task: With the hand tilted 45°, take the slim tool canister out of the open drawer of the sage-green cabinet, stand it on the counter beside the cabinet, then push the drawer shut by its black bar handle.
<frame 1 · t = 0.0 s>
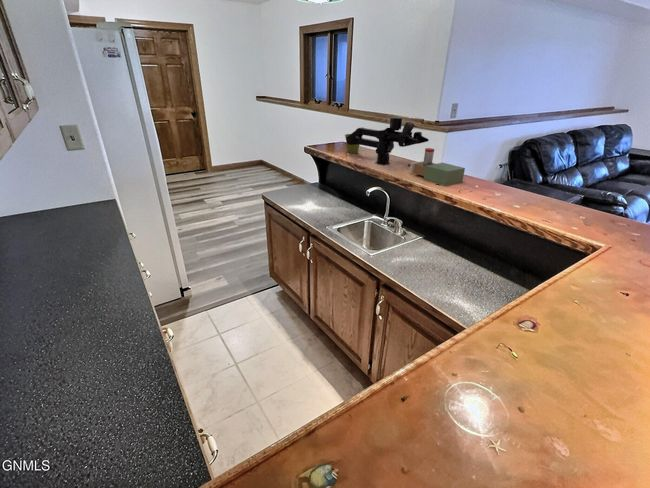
hand: (424, 141, 186), 16 cm above the counter, tool horizontal, fingers open, 9 cm apart
cabinet: (442, 180, 177), on the counter
canister: (426, 172, 184), point 2 cm above the counter, touching drawer
drawer: (423, 168, 185), point 4 cm above the counter, slide at 9.0 cm, touching canister
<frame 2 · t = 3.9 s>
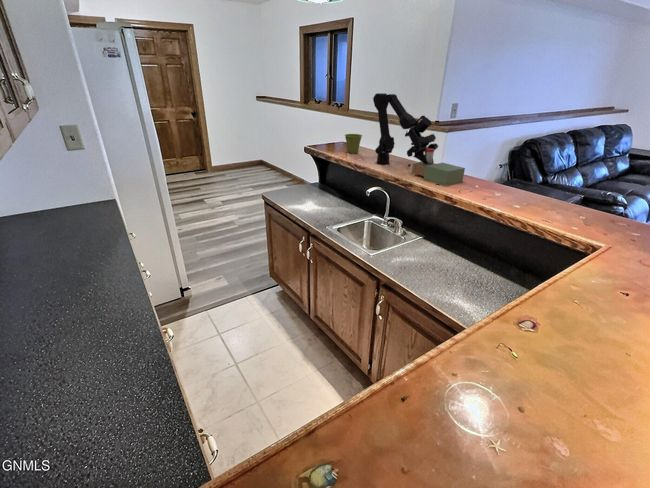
hand: (429, 163, 181), 7 cm above the counter, tool tilted 45°, fingers closed on canister, 4 cm apart
canister: (426, 172, 184), point 2 cm above the counter, touching drawer, gripper
everything else where it was.
when the fingers open (5 cm above the counter, at t = 11.2 s): canister stays where it is, on the counter.
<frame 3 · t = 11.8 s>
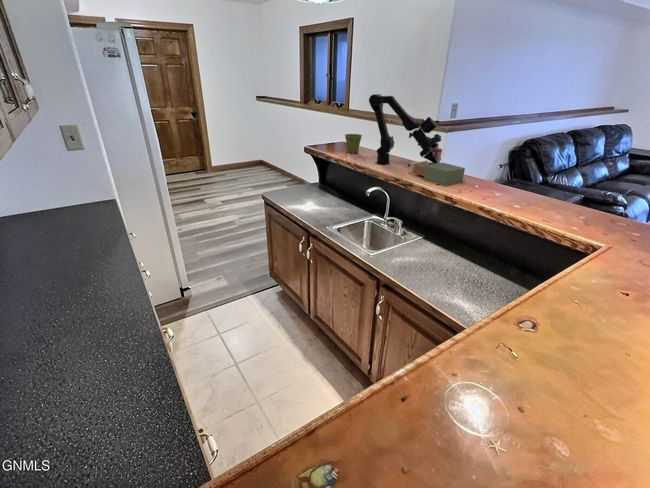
hand: (438, 161, 193), 5 cm above the counter, tool tilted 45°, fingers open, 9 cm apart
canister: (434, 170, 196), on the counter
drawer: (423, 168, 185), point 4 cm above the counter, slide at 9.0 cm
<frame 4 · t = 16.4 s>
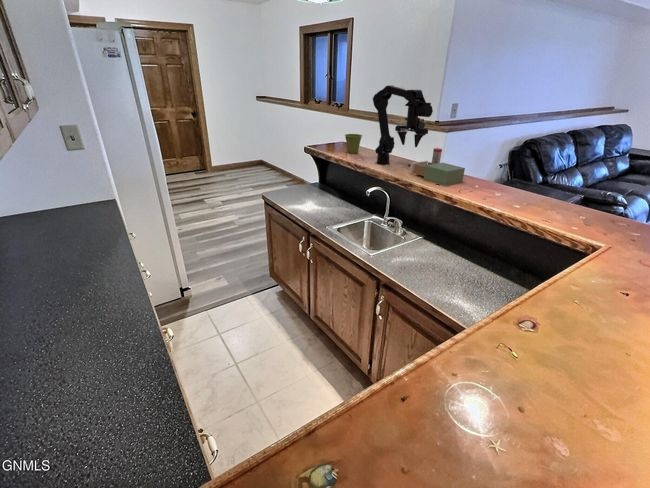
hand: (409, 146, 190), 13 cm above the counter, tool pointing down, fingers open, 9 cm apart
nothing on the counter moved.
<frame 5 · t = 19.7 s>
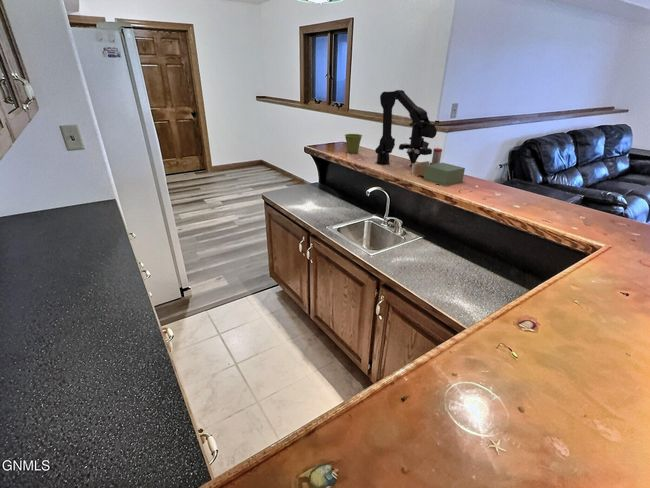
hand: (412, 165, 191), 4 cm above the counter, tool pointing down, fingers closed
drawer: (425, 168, 184), point 4 cm above the counter, slide at 7.8 cm, touching gripper
everything else where it was.
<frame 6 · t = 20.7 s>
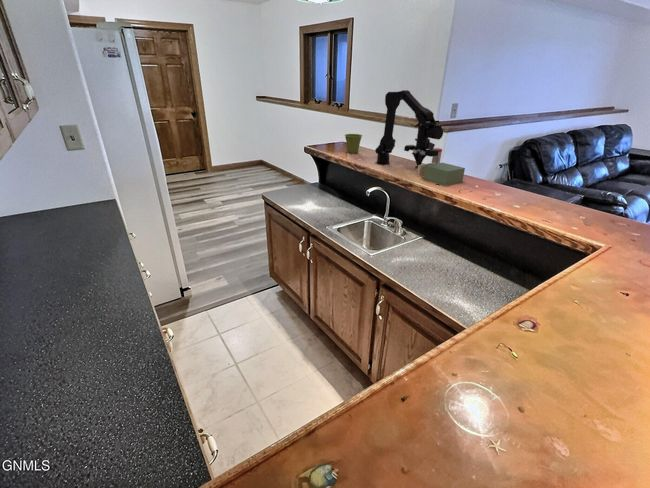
hand: (418, 166, 188), 4 cm above the counter, tool pointing down, fingers closed
drawer: (431, 170, 181), point 4 cm above the counter, slide at 3.8 cm, touching gripper
everything else where it was.
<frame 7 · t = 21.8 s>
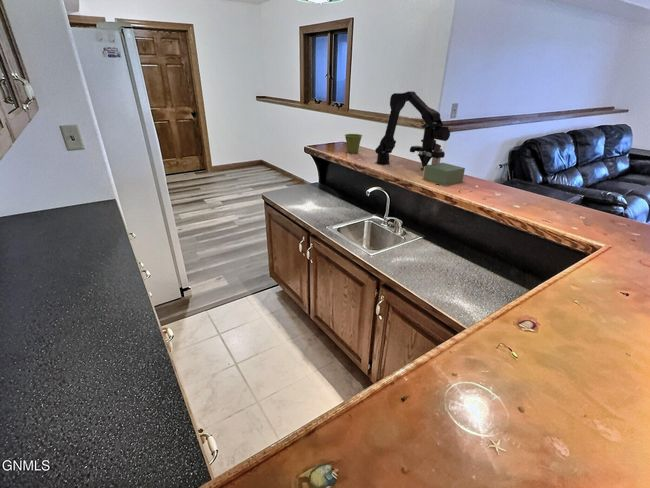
hand: (424, 168, 185), 4 cm above the counter, tool pointing down, fingers closed
drawer: (437, 172, 179), point 4 cm above the counter, slide at 0.0 cm, touching cabinet, gripper
everything else where it was.
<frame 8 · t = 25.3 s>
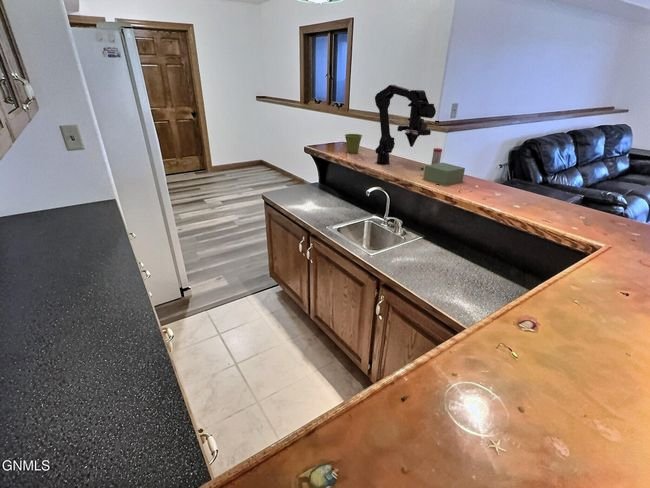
hand: (411, 146, 189), 13 cm above the counter, tool pointing down, fingers closed
drawer: (437, 172, 179), point 4 cm above the counter, slide at 0.0 cm
everything else where it was.
at the end: canister inside the target area (0.0 cm from its centre), on the counter; canister tilted 0°; drawer slide at 0.0 cm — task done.
